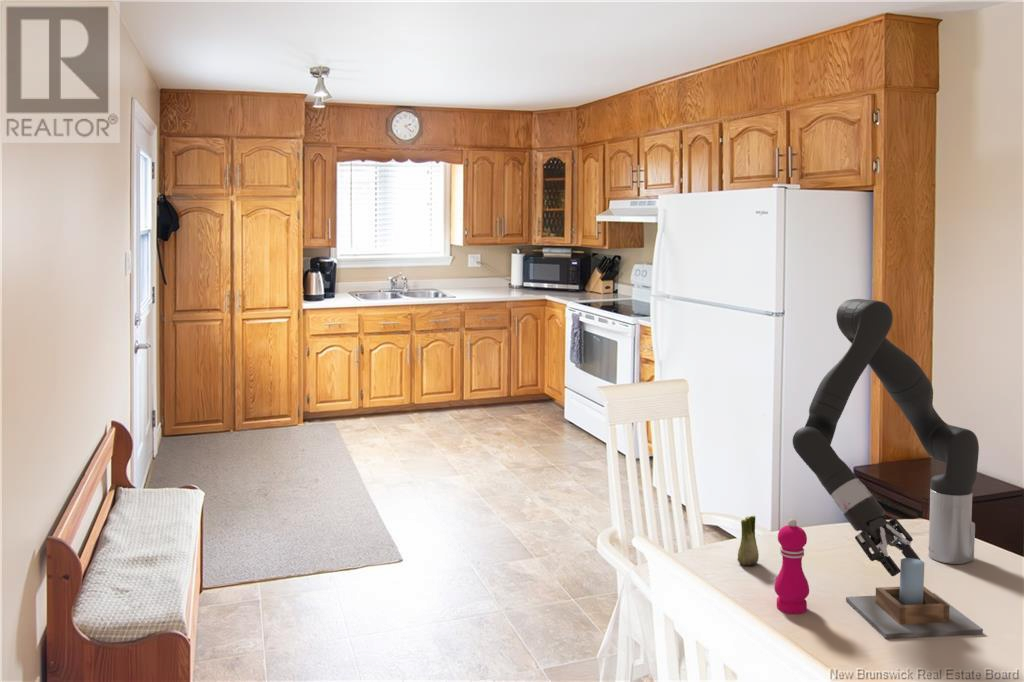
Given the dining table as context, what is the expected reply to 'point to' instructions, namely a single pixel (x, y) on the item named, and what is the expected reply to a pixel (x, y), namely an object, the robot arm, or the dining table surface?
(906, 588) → the post
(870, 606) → the wooden frame tray
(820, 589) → the dining table surface
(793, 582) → the pepper mill
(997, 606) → the dining table surface
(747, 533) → the fennel bulb
